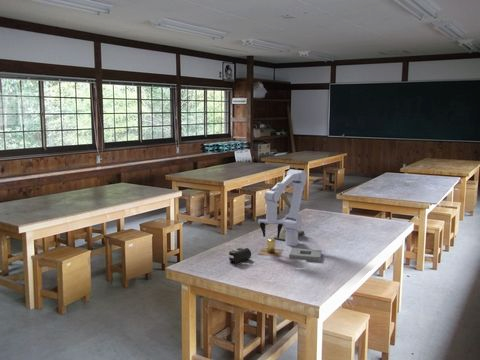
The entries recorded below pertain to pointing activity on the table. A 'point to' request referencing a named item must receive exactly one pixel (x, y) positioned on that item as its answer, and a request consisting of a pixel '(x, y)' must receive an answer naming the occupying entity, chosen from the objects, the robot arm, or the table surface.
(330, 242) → the table surface
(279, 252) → the stand pad
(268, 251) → the brass peg
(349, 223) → the table surface
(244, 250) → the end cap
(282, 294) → the table surface
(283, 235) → the embossing press
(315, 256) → the grey square socket plate
